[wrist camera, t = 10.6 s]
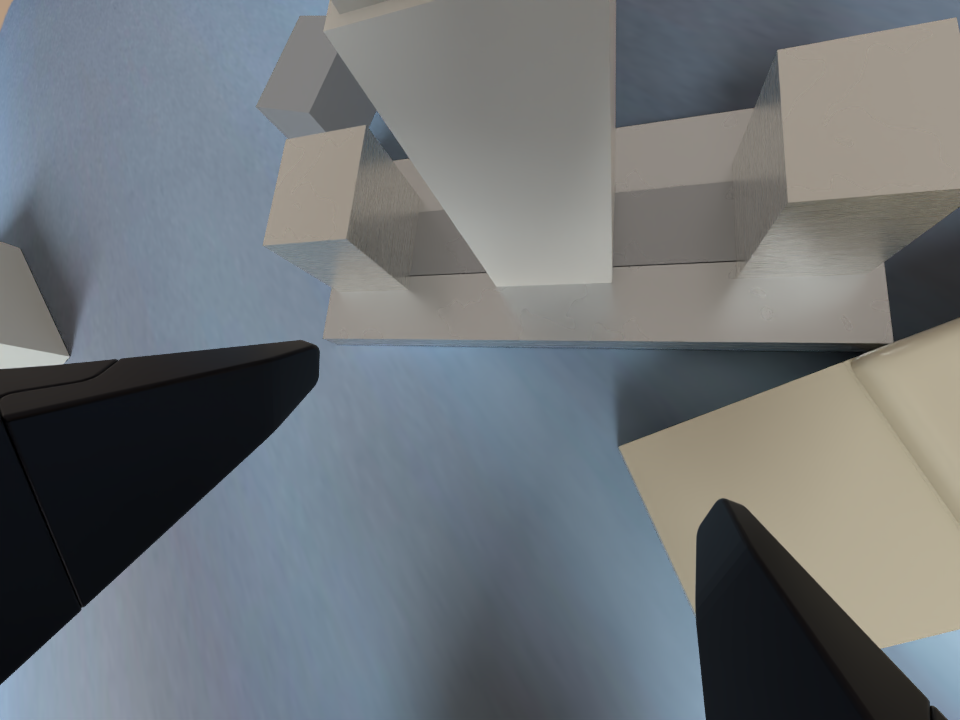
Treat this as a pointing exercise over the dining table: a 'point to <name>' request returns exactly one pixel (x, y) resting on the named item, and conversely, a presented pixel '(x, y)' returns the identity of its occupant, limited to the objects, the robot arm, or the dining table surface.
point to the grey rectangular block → (313, 86)
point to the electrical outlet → (833, 481)
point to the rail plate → (666, 218)
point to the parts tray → (25, 317)
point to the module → (500, 121)
